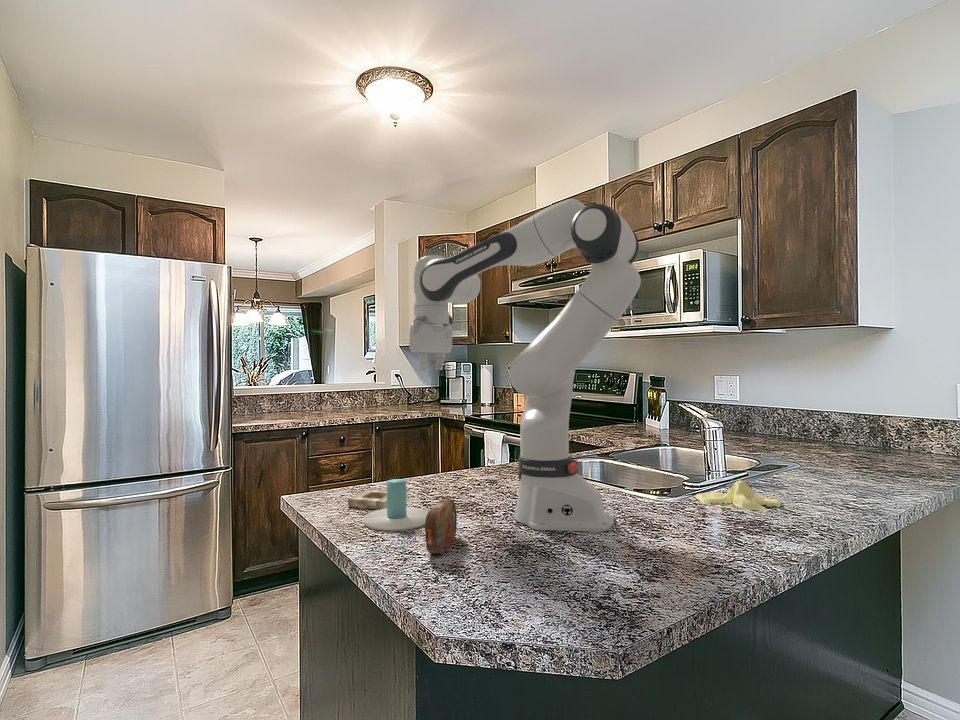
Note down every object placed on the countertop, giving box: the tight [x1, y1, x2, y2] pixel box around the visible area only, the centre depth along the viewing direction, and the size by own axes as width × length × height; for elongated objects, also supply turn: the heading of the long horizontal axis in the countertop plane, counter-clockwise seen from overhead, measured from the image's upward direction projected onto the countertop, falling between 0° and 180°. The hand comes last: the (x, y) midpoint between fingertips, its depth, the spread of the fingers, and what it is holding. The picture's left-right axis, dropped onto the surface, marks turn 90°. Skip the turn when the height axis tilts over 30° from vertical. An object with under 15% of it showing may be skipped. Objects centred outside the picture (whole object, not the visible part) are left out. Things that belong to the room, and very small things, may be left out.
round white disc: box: [363, 506, 429, 532], centre depth 126 cm, size 15×15×1 cm
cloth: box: [694, 480, 782, 511], centre depth 138 cm, size 22×19×6 cm
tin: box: [424, 498, 458, 555], centre depth 109 cm, size 15×3×8 cm, turn 168°
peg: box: [386, 478, 407, 519], centre depth 126 cm, size 4×4×8 cm
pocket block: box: [347, 489, 387, 510], centre depth 141 cm, size 10×10×2 cm
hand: (431, 370), depth 146 cm, fingers open, 8 cm apart
